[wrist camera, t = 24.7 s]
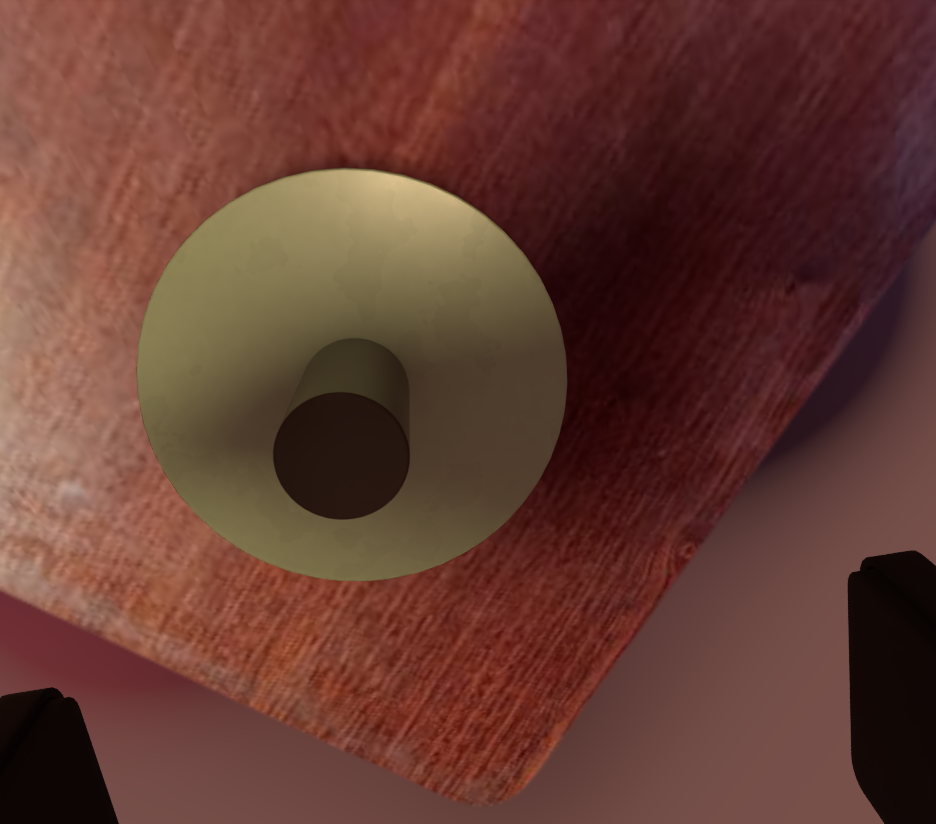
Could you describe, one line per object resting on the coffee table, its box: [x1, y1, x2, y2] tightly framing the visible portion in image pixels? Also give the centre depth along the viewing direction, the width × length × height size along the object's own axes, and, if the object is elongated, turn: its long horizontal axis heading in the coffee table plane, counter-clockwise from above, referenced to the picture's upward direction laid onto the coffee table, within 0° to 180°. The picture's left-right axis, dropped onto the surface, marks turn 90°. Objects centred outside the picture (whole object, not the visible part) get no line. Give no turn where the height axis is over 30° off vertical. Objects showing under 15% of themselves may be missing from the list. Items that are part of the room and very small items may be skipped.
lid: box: [136, 168, 567, 581], centre depth 22 cm, size 12×12×7 cm
